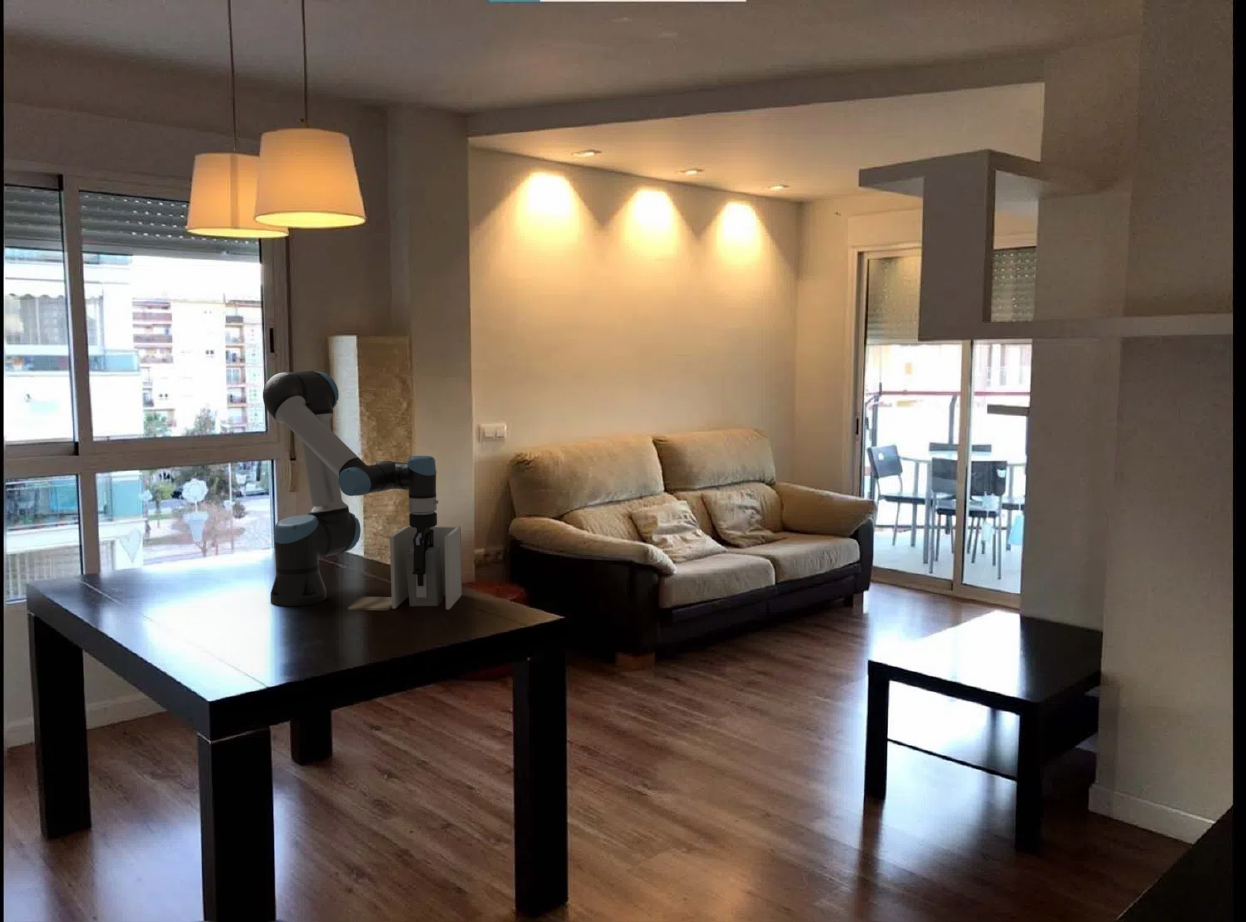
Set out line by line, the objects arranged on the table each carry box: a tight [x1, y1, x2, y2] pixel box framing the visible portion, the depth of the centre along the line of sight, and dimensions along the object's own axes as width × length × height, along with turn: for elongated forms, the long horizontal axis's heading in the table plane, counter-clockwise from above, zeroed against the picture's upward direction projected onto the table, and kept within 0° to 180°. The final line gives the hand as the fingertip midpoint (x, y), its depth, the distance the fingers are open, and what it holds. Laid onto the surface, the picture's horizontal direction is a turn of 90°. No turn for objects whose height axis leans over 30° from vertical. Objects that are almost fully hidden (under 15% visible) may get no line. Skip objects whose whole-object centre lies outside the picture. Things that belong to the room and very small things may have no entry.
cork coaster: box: [347, 596, 392, 611], centre depth 280 cm, size 11×12×1 cm
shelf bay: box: [389, 525, 463, 610], centre depth 282 cm, size 16×16×20 cm
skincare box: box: [406, 547, 444, 607], centre depth 280 cm, size 8×7×16 cm
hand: (425, 593), depth 280 cm, fingers closed on skincare box, 7 cm apart
